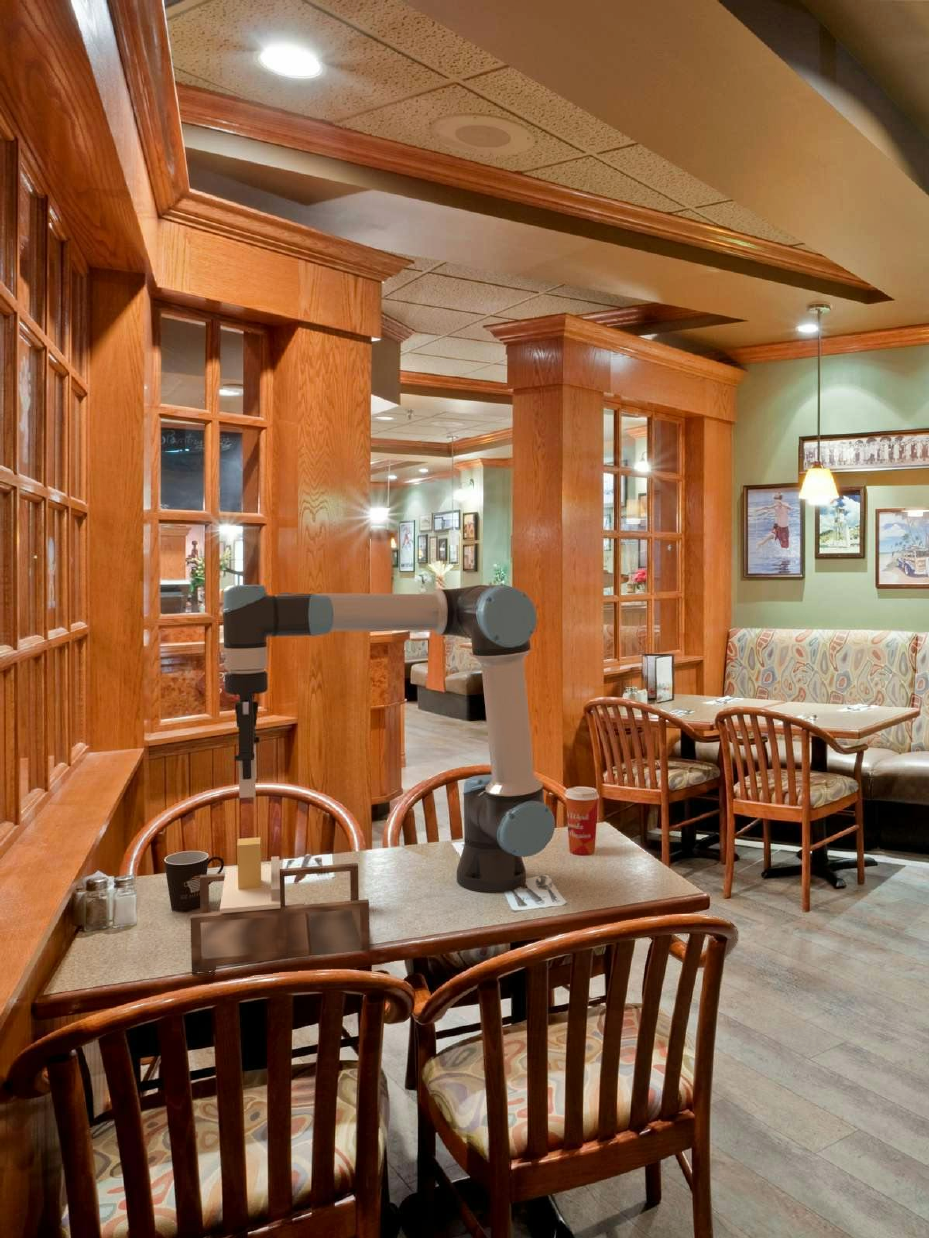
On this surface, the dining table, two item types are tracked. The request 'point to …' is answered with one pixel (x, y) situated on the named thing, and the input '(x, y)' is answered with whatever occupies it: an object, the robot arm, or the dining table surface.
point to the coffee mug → (186, 878)
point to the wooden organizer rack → (279, 926)
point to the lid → (252, 890)
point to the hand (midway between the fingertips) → (248, 787)
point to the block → (249, 863)
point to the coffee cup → (582, 819)
